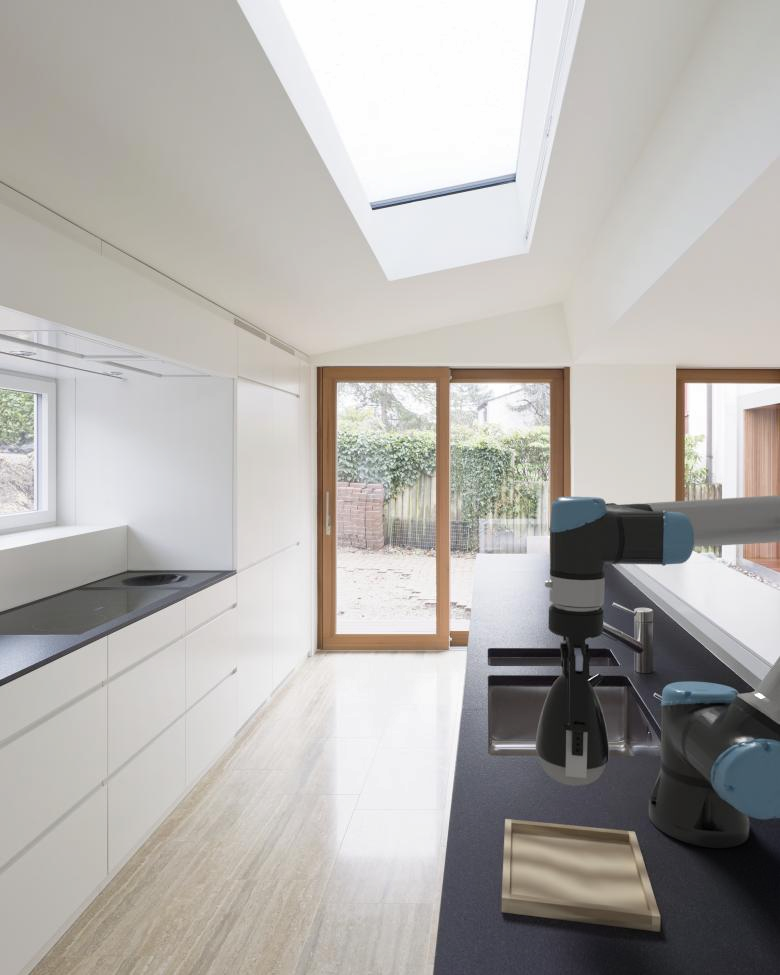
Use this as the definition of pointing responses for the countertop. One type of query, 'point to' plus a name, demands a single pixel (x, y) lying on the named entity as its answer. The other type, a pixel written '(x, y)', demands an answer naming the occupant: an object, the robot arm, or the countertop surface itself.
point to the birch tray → (577, 875)
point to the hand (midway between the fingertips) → (572, 758)
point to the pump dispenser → (554, 737)
